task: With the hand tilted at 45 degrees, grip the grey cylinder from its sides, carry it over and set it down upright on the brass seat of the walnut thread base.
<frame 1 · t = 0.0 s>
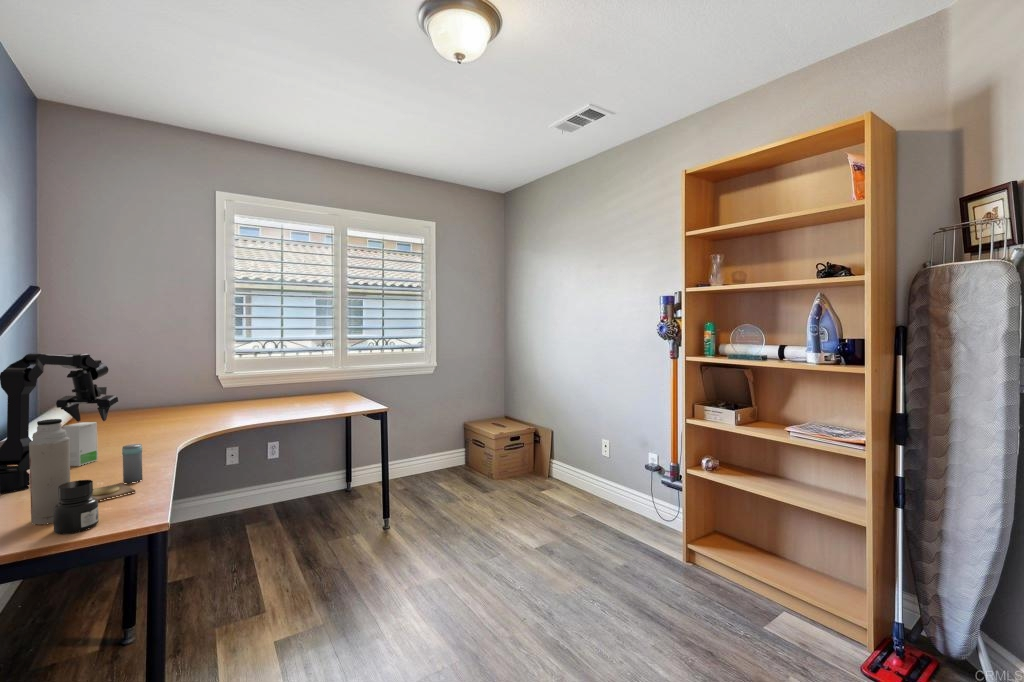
hand: (91, 421, 187), 15 cm above the table, tool pointing down, fingers open, 9 cm apart
skincare box: (80, 463, 182), on the table
thermos bottle: (51, 519, 131), on the table
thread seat: (104, 494, 150), on the table
ink bottle: (76, 528, 126), on the table
grey cylinder: (132, 481, 163), on the table
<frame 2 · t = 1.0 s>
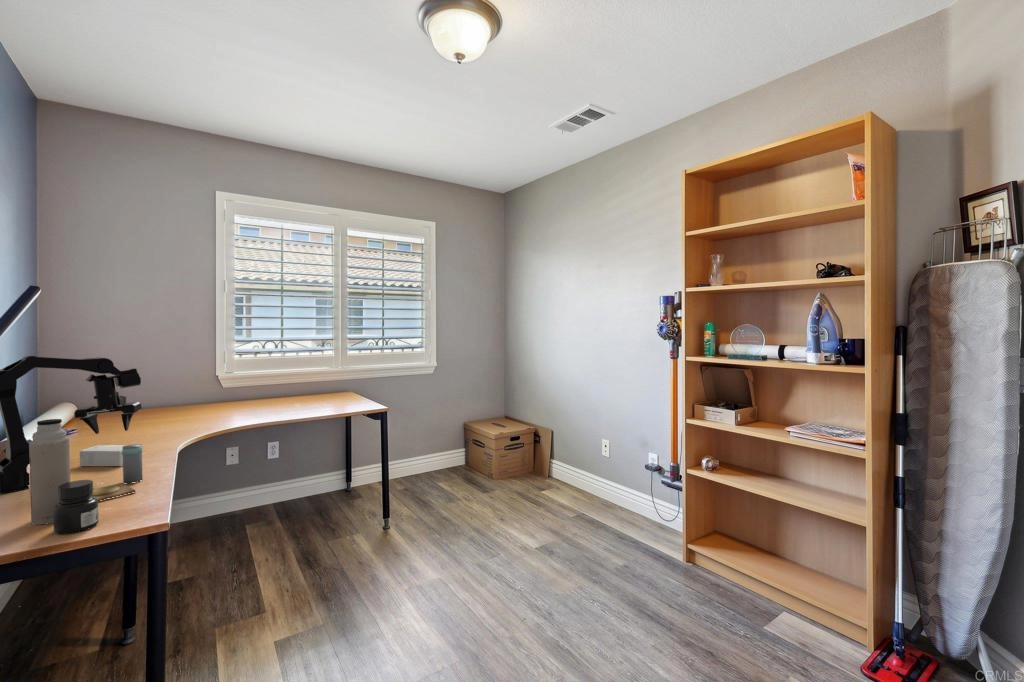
hand: (112, 432, 174), 14 cm above the table, tool pointing down, fingers open, 9 cm apart
skincare box: (88, 455, 182), point 3 cm above the table
everything else where it was.
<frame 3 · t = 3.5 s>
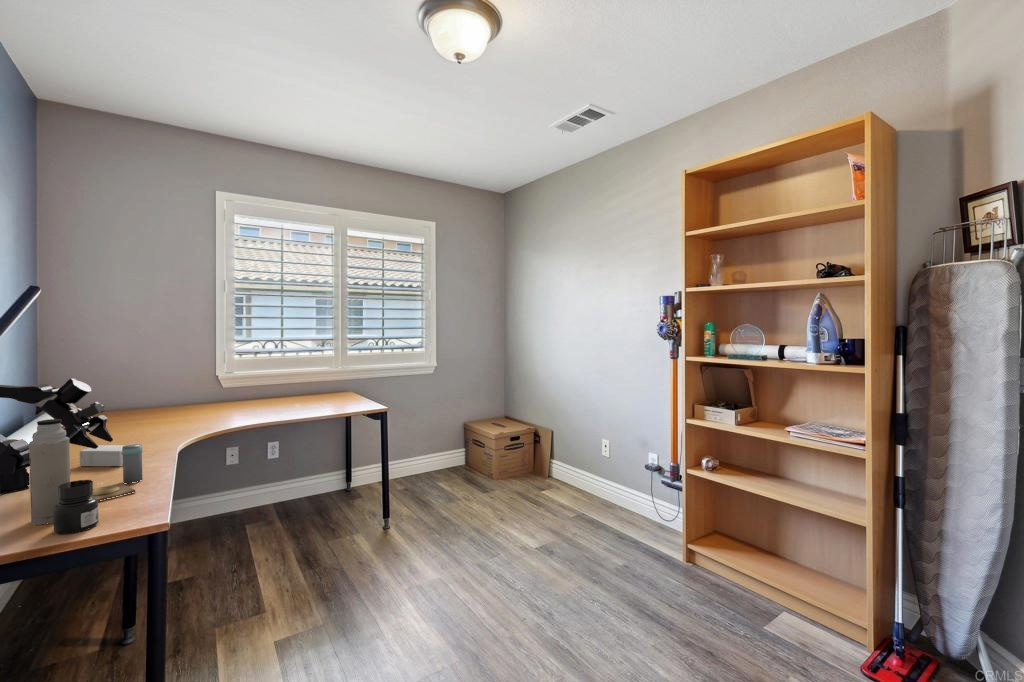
hand: (104, 444, 160), 13 cm above the table, tool tilted 45°, fingers open, 9 cm apart
nothing on the table moved.
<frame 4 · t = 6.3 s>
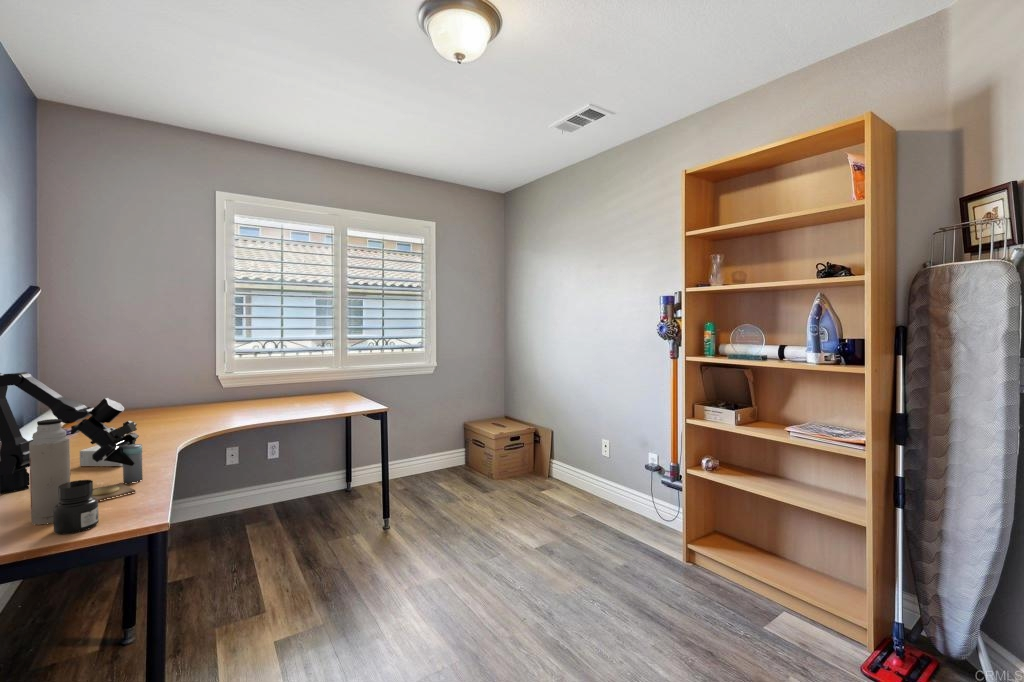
hand: (137, 462, 163), 7 cm above the table, tool tilted 45°, fingers closed on grey cylinder, 5 cm apart
grey cylinder: (132, 481, 163), on the table, touching gripper
everything else where it was.
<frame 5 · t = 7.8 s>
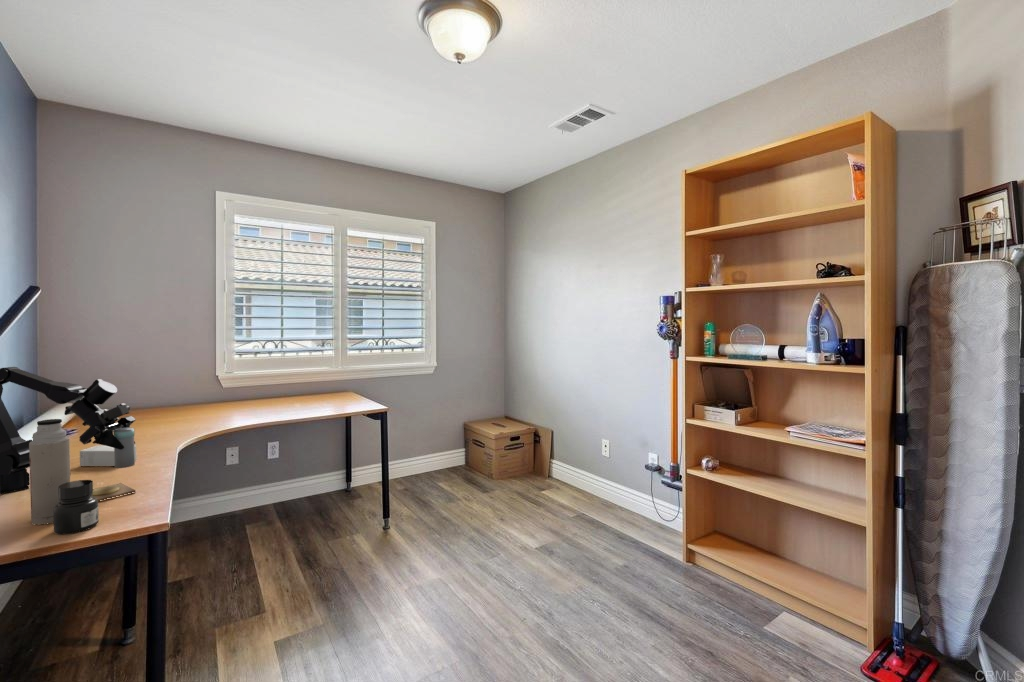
hand: (128, 446, 158), 13 cm above the table, tool tilted 45°, fingers closed on grey cylinder, 5 cm apart
grey cylinder: (124, 465, 158), point 7 cm above the table, touching gripper
everything else where it was.
when the fingers open (9 cm above the table, at t = 9.7 s): grey cylinder stays where it is, resting on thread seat.
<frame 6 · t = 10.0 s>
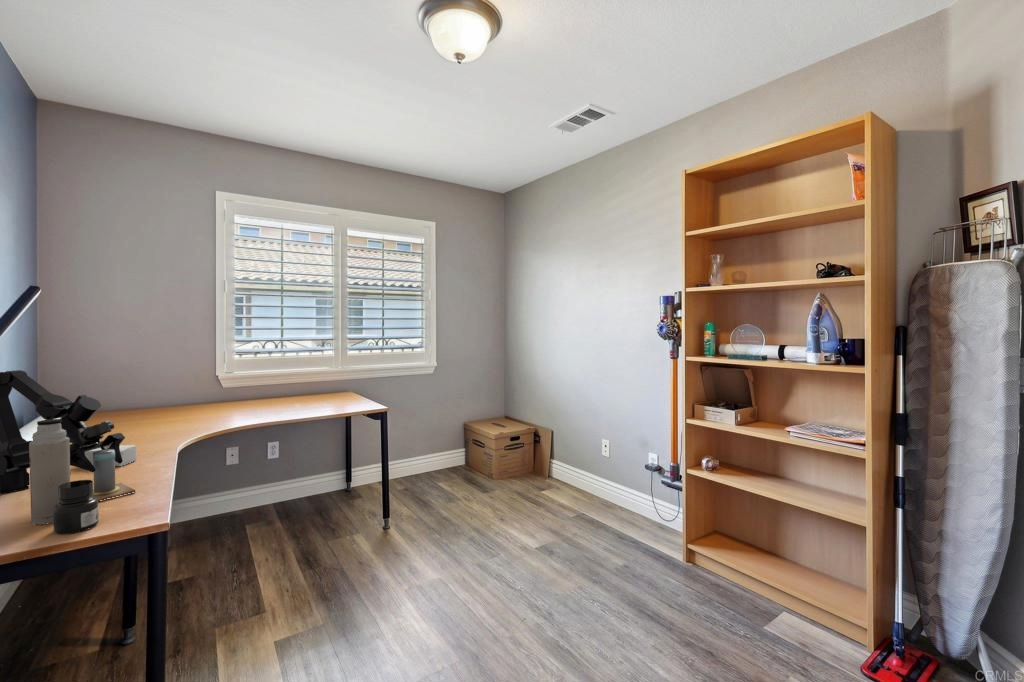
hand: (108, 466, 149), 9 cm above the table, tool tilted 45°, fingers open, 9 cm apart
grey cylinder: (104, 489, 150), point 2 cm above the table, touching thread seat
everything else where it was.
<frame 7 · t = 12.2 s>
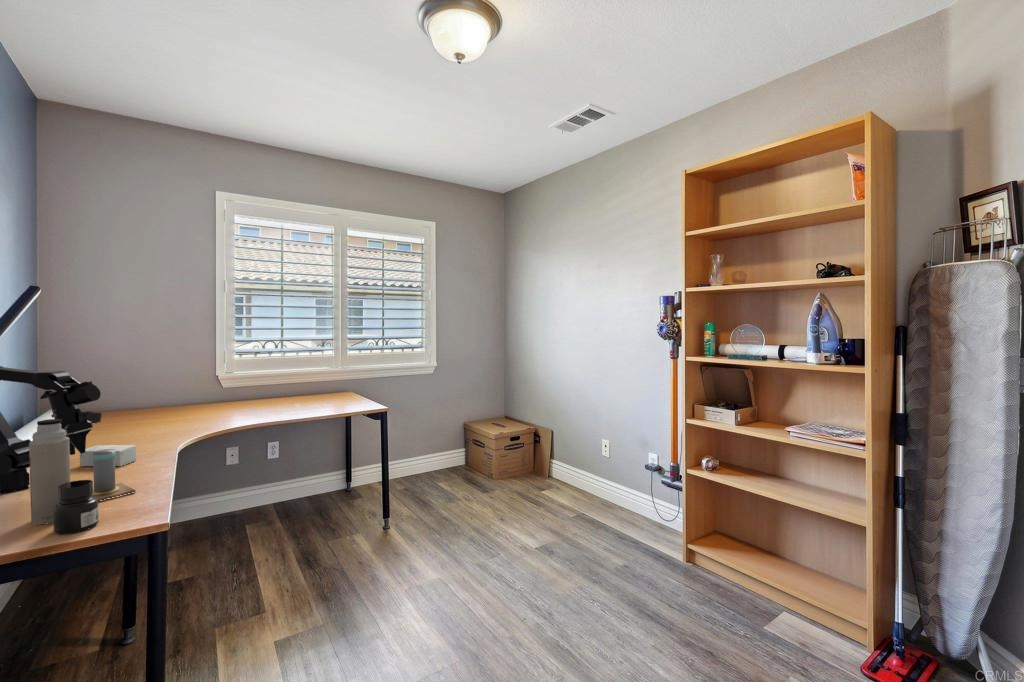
hand: (78, 453, 155), 12 cm above the table, tool pointing down, fingers open, 9 cm apart
nothing on the table moved.
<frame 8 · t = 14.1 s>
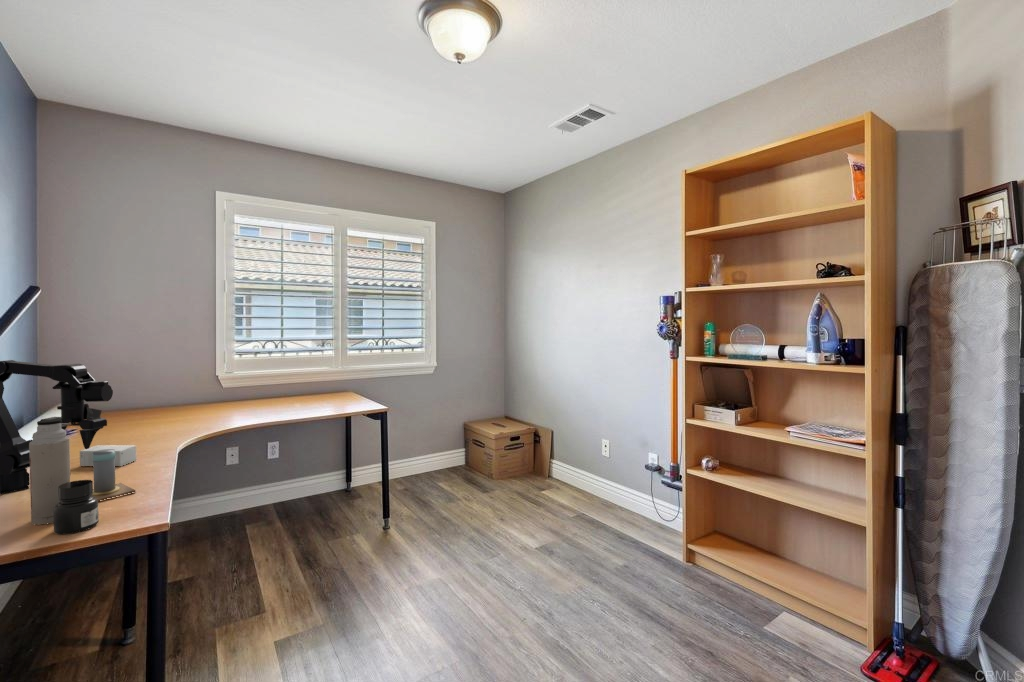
hand: (73, 448, 156), 13 cm above the table, tool pointing down, fingers open, 9 cm apart
nothing on the table moved.
at the end: grey cylinder 0.0 cm from the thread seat (horizontally); grey cylinder point 1.6 cm above the table; grey cylinder tilted 0° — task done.
